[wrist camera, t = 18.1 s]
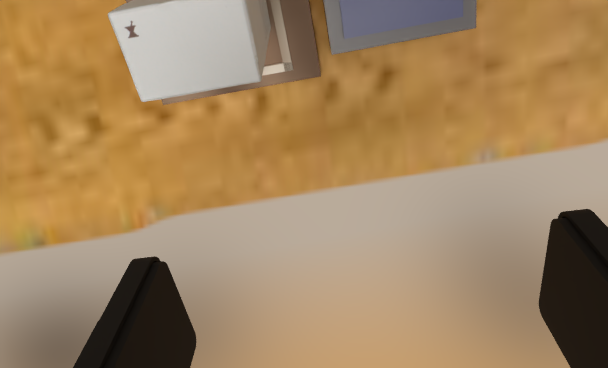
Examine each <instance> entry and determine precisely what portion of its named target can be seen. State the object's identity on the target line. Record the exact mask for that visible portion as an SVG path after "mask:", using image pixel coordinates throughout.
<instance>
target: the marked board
mask: <svg viewBox="0 0 608 368" xmlns="http://www.w3.org/2000/svg"><path fill="white" fill-rule="evenodd" d="M130 1H132V0H126V2H127V3H128V2H130ZM266 3H267V9H268V14H269V20H270V25H271V30H270V36H269V41H268V46H267V52H266V58H265V63H264V69H263V75H262V80H261V81H260V82H256V83H249V84H243V85H238V86H232V87H226V88H220V89H215V90H209V91H204V92H199V93H194V94H188V95H183V96H177V97H171V98H164V99H161V100H162V102H163V105H165V104H171V103H176V102H182V101H187V100H193V99H198V98H204V97H209V96H215V95H220V94H226V93H231V92H237V91H242V90H248V89H253V88H259V87H264V86H270V85H275V84H281V83H286V82H292V81H297V80H303V79H308V78H314V77H319V76H321V73H320V67H319V61H318V55H317V49H316V43H315V37H314V31H313V25H312V18H311V12H310V6H309V0H266Z"/></svg>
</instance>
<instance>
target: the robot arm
mask: <svg viewBox="0 0 608 368" xmlns="http://www.w3.org/2000/svg"><path fill="white" fill-rule="evenodd" d="M539 309H540V312H541V315H542V317H543V319H544V321H545V323H546V325H547V326H548V328H549V330H550V332H551V333H552V335H553V337H554V339H555V341H556V342H557V344H558V346H559V348H560V349H561V351H562V353H563V355H564V356H565V358H566V360H567V362H568V364H569V365H570V367H571V368H608V227H607V226H606V225H605V224H604V223H603V222H602V221H601V220H600V219H599V218H598V216H597V215H596V214H595V213H594V212H592V211H591V210H589V209H583V210H574V211H566V212H561V213H560V215H559V216H558V219H553V220H552V222H551V226H550V233H549V239H548V245H547V252H546V258H545V265H544V271H543V278H542V284H541V291H540V298H539ZM195 348H196V335H195V331H194V329H193V326H192V324H191V322H190V319H189V317H188V314H187V312H186V309H185V307H184V304H183V302H182V300H181V297H180V295H179V292H178V290H177V287H176V285H175V282H174V280H173V277H172V275H171V273H170V270H169V268H168V265H167V264H166V263H165V262H161V261H160V260H159V258H157V257H147V258H139V259H133V260H132V261H131V262H130V264H129V266H128V268H127V270H126V272H125V273H124V275H123V277H122V279H121V281H120V283H119V285H118V286H117V288H116V290H115V292H114V294H113V296H112V298H111V299H110V301H109V303H108V305H107V307H106V309H105V311H104V313H103V315H102V316H101V318H100V320H99V321H98V322H97V324H96V326H95V328H94V330H93V332H92V333H91V335H90V337H89V339H88V341H87V343H86V345H85V346H84V348H83V350H82V352H81V354H80V356H79V358H78V359H77V361H76V363H75V365H74V367H73V368H190V366H191V362H192V359H193V355H194V351H195Z"/></svg>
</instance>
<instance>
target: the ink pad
mask: <svg viewBox="0 0 608 368" xmlns="http://www.w3.org/2000/svg"><path fill="white" fill-rule="evenodd" d="M323 2H324V9H325V16H326V22H327V29H328V36H329V43H330V49H331V53H332V55H333V54H338V53H344V52H349V51H354V50H360V49H365V48H371V47H376V46H381V45H387V44H392V43H398V42H403V41H408V40H414V39H419V38H424V37H430V36H435V35H441V34H446V33H451V32H457V31H462V30H468V29H473V28H476V0H323Z"/></svg>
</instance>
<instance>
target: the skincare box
mask: <svg viewBox="0 0 608 368" xmlns="http://www.w3.org/2000/svg"><path fill="white" fill-rule="evenodd" d="M108 17H109V19H110V22H111V25H112V27H113V30H114V32H115V35H116V37H117V40H118V42H119V45H120V47H121V50H122V52H123V55H124V58H125V60H126V63H127V65H128V68H129V70H130V73H131V76H132V78H133V81H134V84H135V86H136V89H137V91H138V94H139V97H140V99H141V101H143V102H146V101H152V100H158V99H164V98H171V97H177V96H183V95H188V94H194V93H199V92H204V91H209V90H215V89H220V88H226V87H232V86H238V85H243V84H249V83H256V82H260V81H261V80H262V75H263V69H264V63H265V58H266V52H267V46H268V41H269V36H270V30H271V25H270V20H269V14H268V9H267V3H266V0H132V1H130V2H128V3H125V4H123V5H121V6H119V7H117V8H116V9H114V10H112V11H111V12H109V13H108Z"/></svg>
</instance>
